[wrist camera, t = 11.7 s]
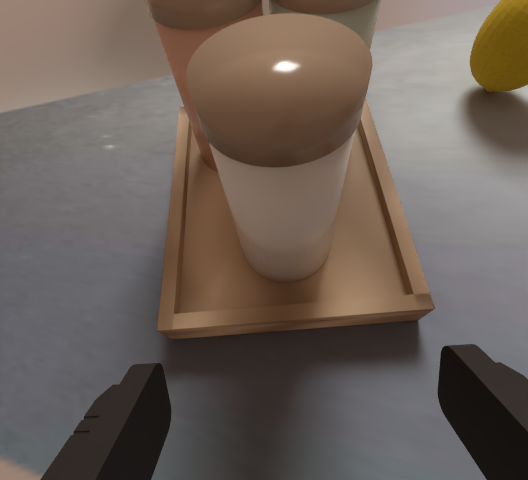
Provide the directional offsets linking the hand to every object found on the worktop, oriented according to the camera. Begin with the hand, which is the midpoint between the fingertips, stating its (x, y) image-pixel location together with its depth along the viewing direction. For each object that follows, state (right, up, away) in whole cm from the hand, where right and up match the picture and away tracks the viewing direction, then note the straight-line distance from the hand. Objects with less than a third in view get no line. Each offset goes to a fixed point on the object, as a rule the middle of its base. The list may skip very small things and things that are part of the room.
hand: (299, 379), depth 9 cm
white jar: (0, +4, +10) cm, 10 cm away
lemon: (+17, +16, +17) cm, 29 cm away
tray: (0, +6, +13) cm, 14 cm away
